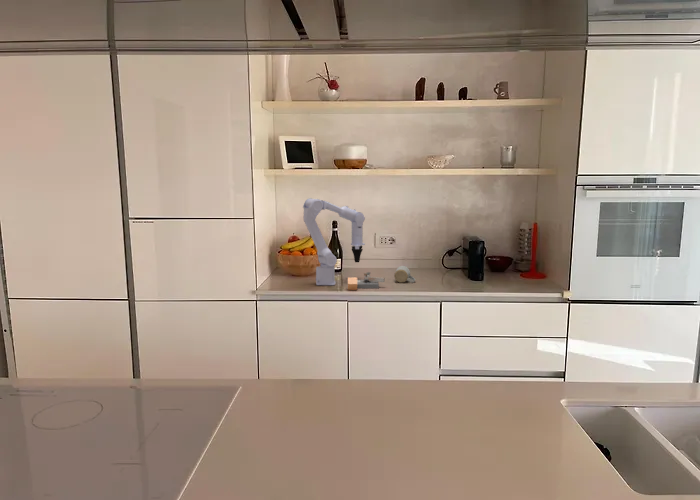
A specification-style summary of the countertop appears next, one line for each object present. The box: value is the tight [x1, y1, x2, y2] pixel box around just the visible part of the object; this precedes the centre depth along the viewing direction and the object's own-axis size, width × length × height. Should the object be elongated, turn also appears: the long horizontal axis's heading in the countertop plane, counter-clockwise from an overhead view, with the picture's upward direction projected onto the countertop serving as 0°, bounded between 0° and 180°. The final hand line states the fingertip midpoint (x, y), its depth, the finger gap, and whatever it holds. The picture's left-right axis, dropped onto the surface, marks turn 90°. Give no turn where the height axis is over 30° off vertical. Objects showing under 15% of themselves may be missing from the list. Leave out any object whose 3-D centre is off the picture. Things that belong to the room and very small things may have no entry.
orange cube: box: [347, 277, 358, 291], centre depth 247 cm, size 4×4×4 cm
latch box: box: [357, 279, 380, 289], centre depth 255 cm, size 14×11×2 cm
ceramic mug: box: [393, 265, 416, 284], centre depth 265 cm, size 11×8×8 cm
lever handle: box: [363, 271, 386, 283], centre depth 254 cm, size 5×10×4 cm, turn 65°
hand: (357, 260), depth 266 cm, fingers open, 7 cm apart
